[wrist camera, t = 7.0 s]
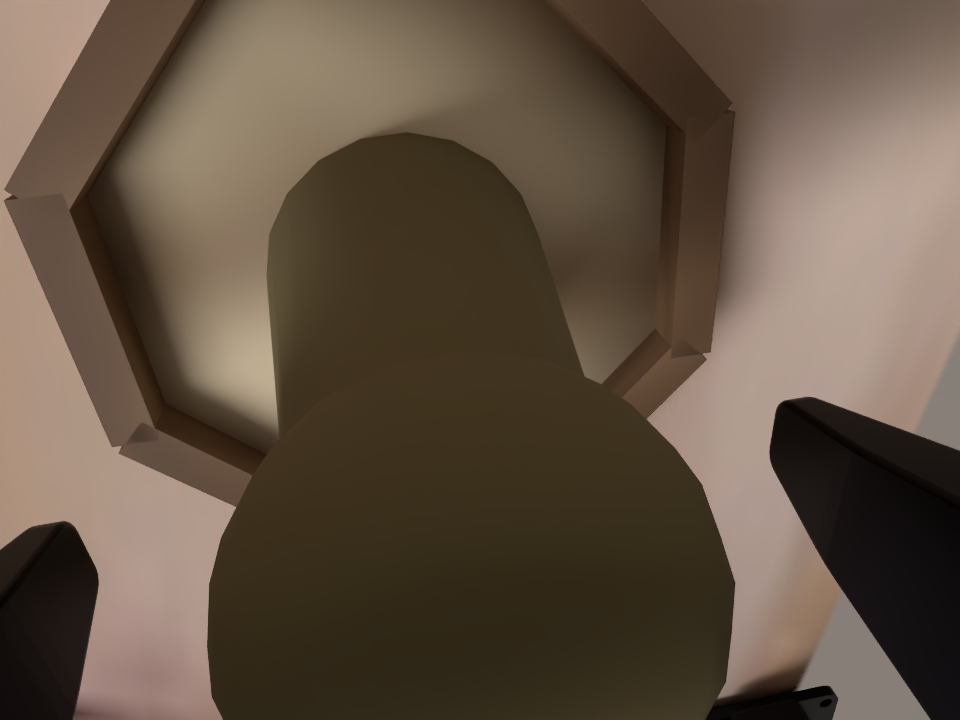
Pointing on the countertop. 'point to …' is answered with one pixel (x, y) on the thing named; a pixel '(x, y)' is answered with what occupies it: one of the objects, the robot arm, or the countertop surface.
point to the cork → (452, 479)
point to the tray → (326, 129)
